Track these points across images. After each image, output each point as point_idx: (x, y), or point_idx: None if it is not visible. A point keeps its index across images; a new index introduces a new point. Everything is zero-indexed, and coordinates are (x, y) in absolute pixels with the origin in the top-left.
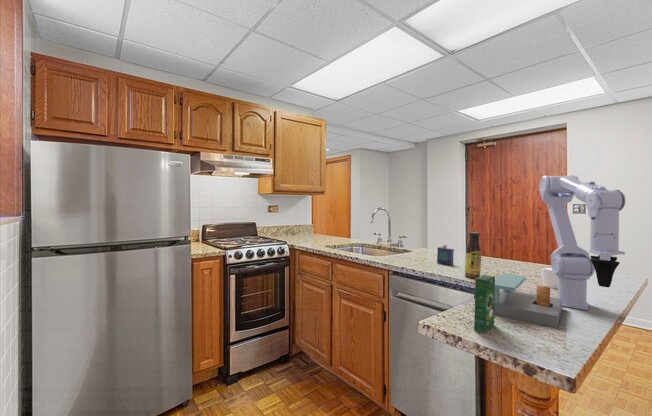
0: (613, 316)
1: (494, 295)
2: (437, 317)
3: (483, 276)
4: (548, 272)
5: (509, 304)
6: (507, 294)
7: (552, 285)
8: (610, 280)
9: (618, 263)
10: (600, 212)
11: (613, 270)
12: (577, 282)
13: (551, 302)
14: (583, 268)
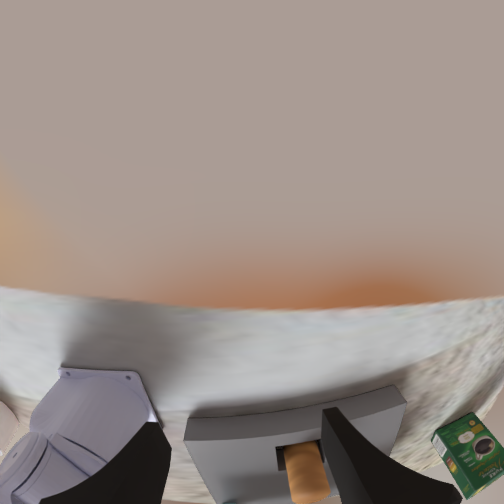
0: (126, 309)
1: (461, 464)
2: (434, 465)
3: (489, 484)
4: (2, 444)
5: None
6: (268, 500)
7: (11, 418)
8: (357, 432)
9: (458, 493)
10: None
11: (407, 471)
12: (112, 456)
13: (263, 451)
14: (67, 484)
